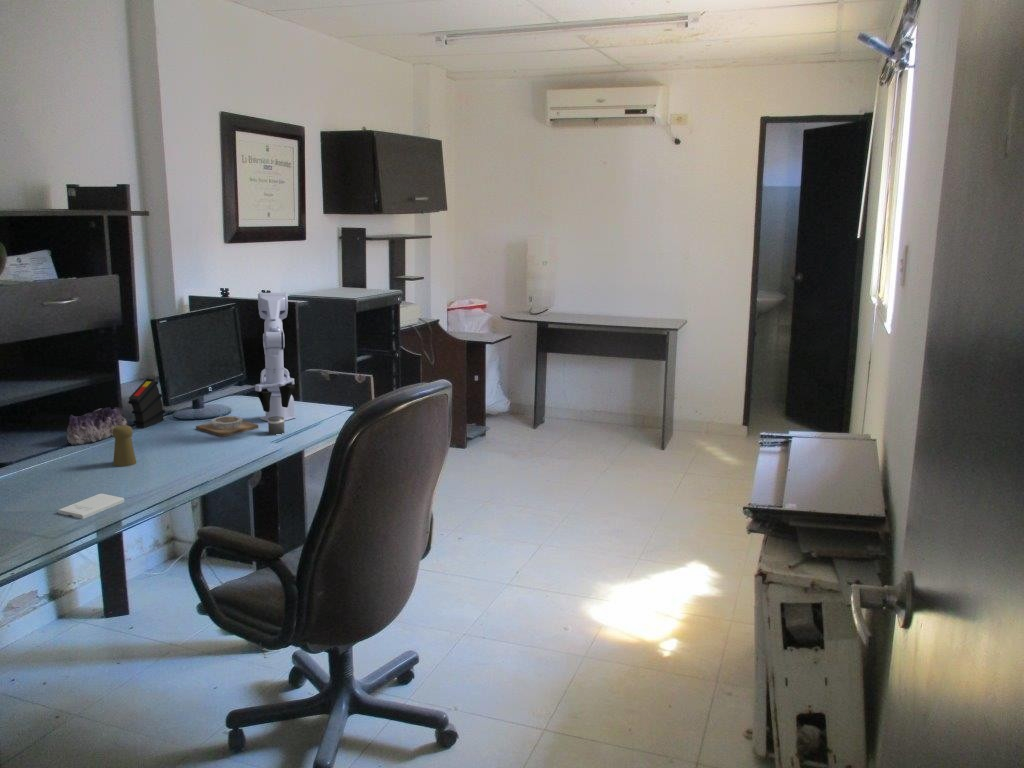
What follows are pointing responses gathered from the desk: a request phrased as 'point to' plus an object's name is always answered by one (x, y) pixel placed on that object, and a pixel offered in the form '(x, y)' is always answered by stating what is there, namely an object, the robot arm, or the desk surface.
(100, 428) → the geode
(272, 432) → the charcoal lens
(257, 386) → the robot arm
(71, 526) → the desk surface
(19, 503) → the desk surface
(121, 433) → the cork
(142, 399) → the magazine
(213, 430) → the walnut board
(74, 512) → the external hard drive
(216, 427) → the mount ring
